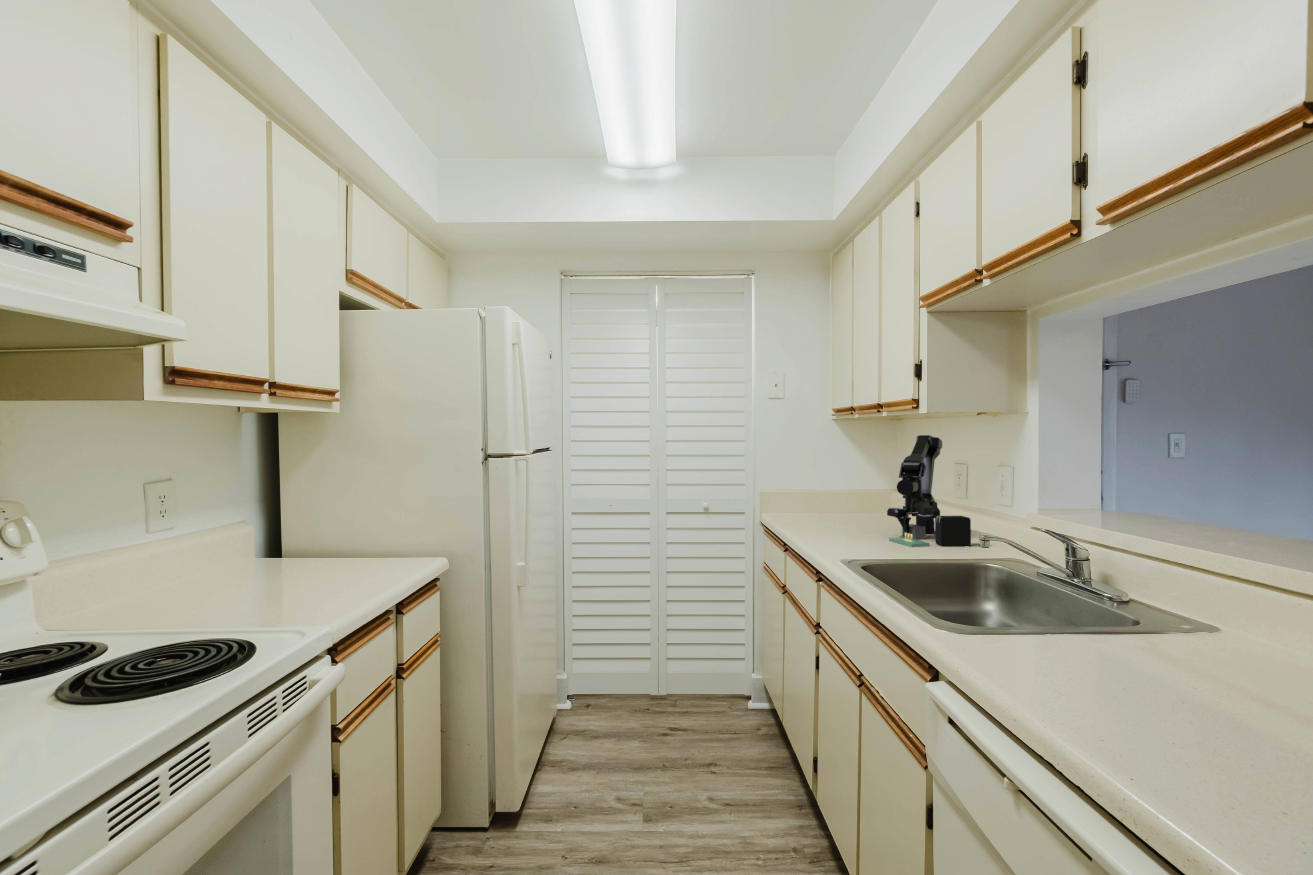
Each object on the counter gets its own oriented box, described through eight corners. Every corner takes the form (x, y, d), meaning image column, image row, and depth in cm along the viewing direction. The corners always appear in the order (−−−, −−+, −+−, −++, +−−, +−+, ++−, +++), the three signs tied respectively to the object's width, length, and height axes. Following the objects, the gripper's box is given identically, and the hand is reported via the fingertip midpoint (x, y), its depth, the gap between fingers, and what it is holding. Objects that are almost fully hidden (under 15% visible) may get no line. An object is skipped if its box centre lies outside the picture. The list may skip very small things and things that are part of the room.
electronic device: (971, 546, 183) (970, 517, 183) (941, 546, 183) (941, 517, 183) (964, 544, 187) (963, 515, 187) (935, 544, 188) (935, 515, 188)
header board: (889, 540, 195) (889, 531, 195) (906, 539, 196) (906, 530, 196) (911, 546, 183) (911, 536, 183) (929, 545, 184) (929, 535, 185)
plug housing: (902, 536, 203) (902, 524, 203) (912, 535, 204) (912, 524, 204) (915, 539, 196) (914, 527, 196) (925, 539, 197) (925, 526, 197)
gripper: (905, 495, 191) (906, 539, 190) (951, 494, 195) (951, 537, 194) (886, 493, 202) (886, 534, 201) (929, 491, 205) (929, 532, 205)
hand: (913, 534), depth 200 cm, fingers open, 5 cm apart
